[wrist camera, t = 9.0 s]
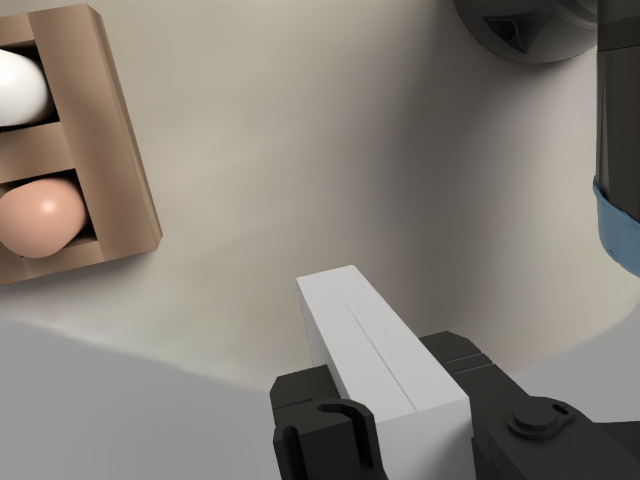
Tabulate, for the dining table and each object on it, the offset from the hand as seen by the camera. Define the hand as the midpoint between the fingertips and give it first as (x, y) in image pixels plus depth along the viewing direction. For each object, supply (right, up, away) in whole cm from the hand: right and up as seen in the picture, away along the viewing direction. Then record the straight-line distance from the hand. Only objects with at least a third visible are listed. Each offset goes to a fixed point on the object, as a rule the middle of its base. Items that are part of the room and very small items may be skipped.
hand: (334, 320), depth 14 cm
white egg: (-20, +12, +22) cm, 32 cm away
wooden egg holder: (-20, +9, +25) cm, 33 cm away
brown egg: (-19, +5, +24) cm, 31 cm away
